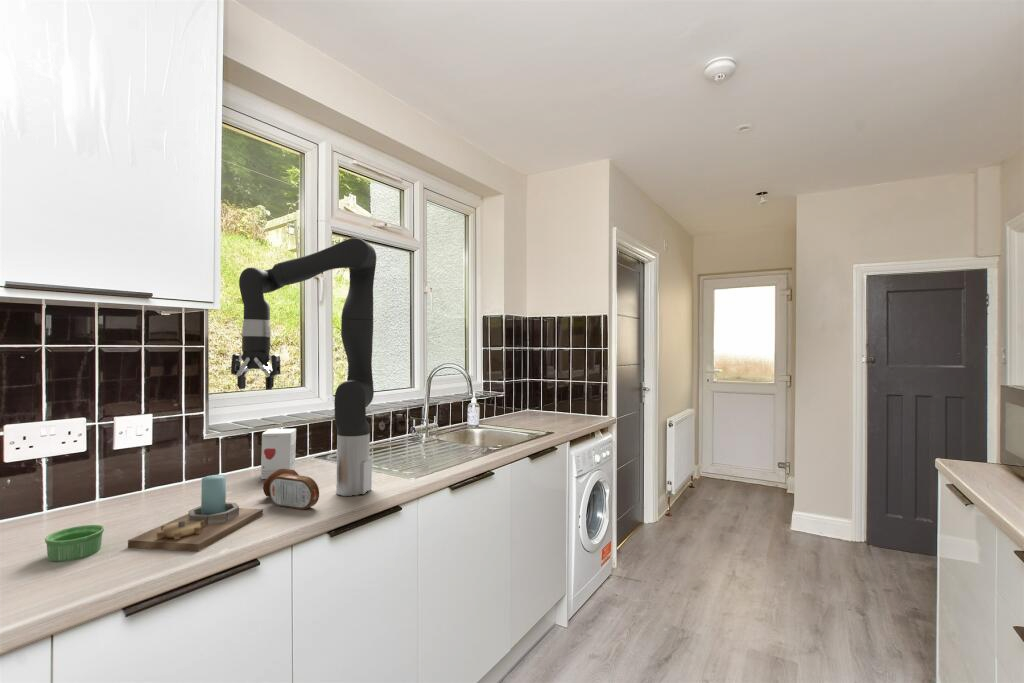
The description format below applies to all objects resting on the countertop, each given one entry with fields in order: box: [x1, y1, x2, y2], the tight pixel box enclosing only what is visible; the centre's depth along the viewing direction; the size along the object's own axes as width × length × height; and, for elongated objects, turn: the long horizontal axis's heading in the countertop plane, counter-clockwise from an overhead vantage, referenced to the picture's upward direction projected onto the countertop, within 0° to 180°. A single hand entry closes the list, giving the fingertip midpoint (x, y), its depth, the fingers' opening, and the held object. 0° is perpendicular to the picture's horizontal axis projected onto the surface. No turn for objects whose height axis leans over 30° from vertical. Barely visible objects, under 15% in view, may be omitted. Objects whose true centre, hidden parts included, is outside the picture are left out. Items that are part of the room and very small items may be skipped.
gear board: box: [127, 502, 264, 552], centre depth 112 cm, size 16×22×4 cm
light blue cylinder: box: [200, 474, 227, 515], centre depth 116 cm, size 5×5×10 cm
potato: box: [262, 469, 299, 498], centre depth 139 cm, size 8×12×8 cm, turn 156°
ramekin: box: [44, 524, 105, 563], centre depth 99 cm, size 9×9×4 cm
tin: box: [269, 474, 320, 510], centre depth 129 cm, size 15×3×8 cm, turn 71°
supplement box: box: [260, 428, 297, 480], centre depth 160 cm, size 9×9×15 cm
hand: (255, 389), depth 144 cm, fingers open, 8 cm apart
